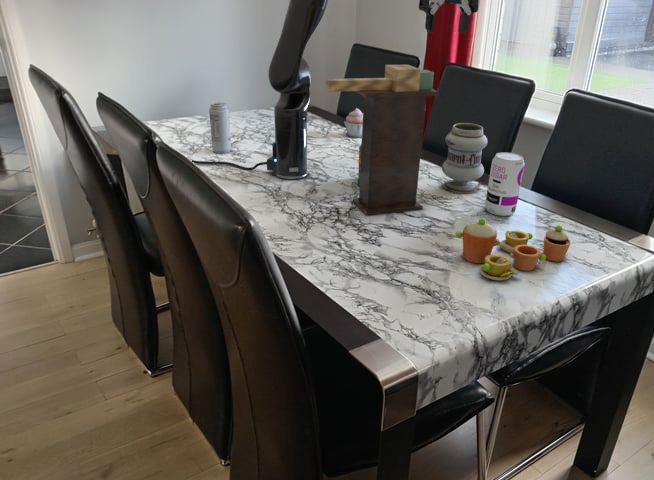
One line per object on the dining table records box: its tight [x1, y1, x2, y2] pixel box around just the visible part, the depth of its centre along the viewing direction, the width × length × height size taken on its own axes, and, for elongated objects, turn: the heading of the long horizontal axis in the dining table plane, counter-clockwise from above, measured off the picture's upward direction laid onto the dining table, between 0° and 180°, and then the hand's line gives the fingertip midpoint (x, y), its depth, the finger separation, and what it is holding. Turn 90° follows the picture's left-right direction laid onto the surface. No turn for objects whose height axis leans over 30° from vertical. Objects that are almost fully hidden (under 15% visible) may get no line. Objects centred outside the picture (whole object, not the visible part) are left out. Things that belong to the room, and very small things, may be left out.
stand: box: [352, 88, 439, 216], centre depth 147 cm, size 19×10×30 cm, turn 113°
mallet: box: [325, 64, 422, 93], centre depth 136 cm, size 22×7×5 cm, turn 113°
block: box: [419, 69, 435, 90], centre depth 141 cm, size 4×4×4 cm
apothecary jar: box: [441, 122, 488, 194], centre depth 165 cm, size 12×12×18 cm
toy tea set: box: [455, 217, 572, 281], centre depth 127 cm, size 26×16×10 cm, turn 122°
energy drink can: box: [208, 102, 232, 154], centre depth 185 cm, size 6×6×15 cm
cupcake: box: [343, 107, 363, 138], centre depth 212 cm, size 9×9×10 cm
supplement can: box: [484, 151, 526, 217], centre depth 151 cm, size 8×8×15 cm
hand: (446, 32), depth 133 cm, fingers open, 8 cm apart
